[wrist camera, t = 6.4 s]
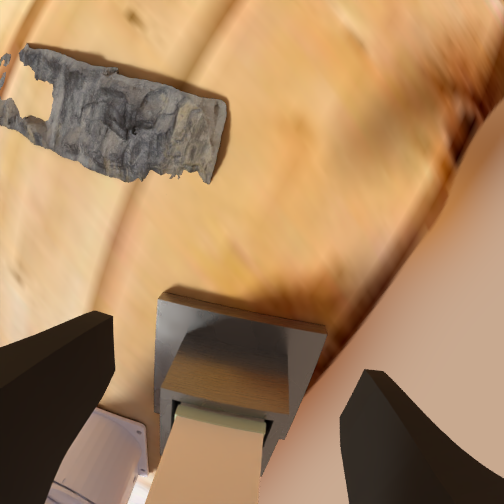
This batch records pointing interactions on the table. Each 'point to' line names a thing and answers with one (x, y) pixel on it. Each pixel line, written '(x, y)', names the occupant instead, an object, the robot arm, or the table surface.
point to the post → (209, 459)
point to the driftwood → (118, 120)
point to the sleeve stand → (232, 364)
